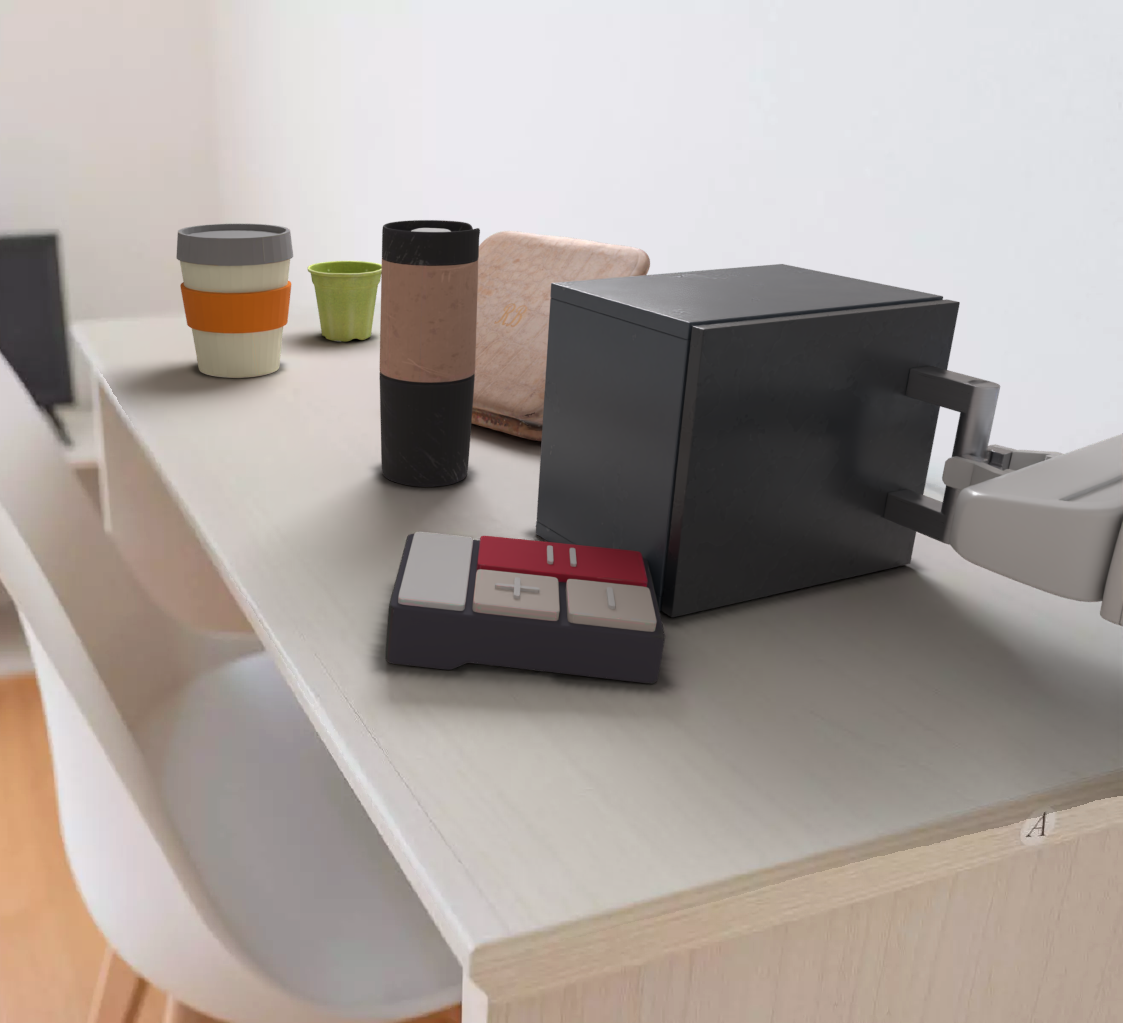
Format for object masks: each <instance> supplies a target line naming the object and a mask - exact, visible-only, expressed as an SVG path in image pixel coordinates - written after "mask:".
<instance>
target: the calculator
mask: <svg viewBox="0 0 1123 1023" xmlns="http://www.w3.org/2000/svg"><path fill="white" fill-rule="evenodd" d="M664 629H665V628H664V625H663V621H662V617H661V611H659V607H658V603H657V599H656V594H655V590H654V586H653V581H652V577H651V573H650V568H649V564H648V561H647V560H646V559H645V558H643V557H642V554H641V553H640V552H638V551H631V550H621V549H611V548H602V547H592V546H582V545H573V544H563V543H553V542H548V541H545V540H544V541H542V540H533V539H523V538H514V537H504V536H494V535H481V536H480V538H479V539H474V538H473V537H472V536H467V535H457V534H448V533H439V532H438V533H437V532H430V531H429V532H427V531H415V533H410V534H408V535H407V537H406V540H405V544H404V547H403V551H402V554H401V558H400V562H399V566H398V569H397V573H396V577H395V581H394V584H393V588H392V593H391V596H390V599H389V603H388V612H387V626H386V639H385V640H386V641H385V652H384V657H385V658H384V659H385V661H386V662H388V663H390V664H394V665H402V666H410V667H421V668H428V669H429V668H430V669H435V670H437V669H438V670H447V671H451V670H454V669H456V668H458V667H459V668H460V667H461V666H464V665H466V664H478V665H485V666H493V667H503V668H512V669H520V670H528V671H537V672H547V673H554V674H562V675H563V674H564V675H571V676H580V677H589V678H597V679H606V680H615V681H624V682H632V683H641V684H650V685H651V684H655V683H657V682H658V679H659V675H660V668H661V662H662V657H663V652H664V646H665V645H664V644H665V641H666V640H665V639H666V633H665V630H664Z"/></svg>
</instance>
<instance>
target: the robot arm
mask: <svg viewBox="0 0 1123 1023" xmlns="http://www.w3.org/2000/svg"><path fill="white" fill-rule="evenodd" d="M941 479H942V480H941V481H942V483H943V484H944V485H945V486H946V485H947V486H949V487H952V488H955V489H959V490H962V491H961V492H960V493H959V496H958V499H957V503H956V507H955V511H954V516H953V521H952V526H951V532H950V540H949V541H950V546H951V548H952V549H953V550H954V551H955V552H956V553H957V554H958V555H959V556H960V557H961V558H962V559H964V560H965V561H967V562H969V563H971V564H973V565H975V566H978V567H980V568H981V569H984V570H987V571H990V572H993V573H995V574H997V575H998V576H1002V577H1005V578H1008V579H1010V580H1012V581H1015V582H1017V583H1020V584H1023V585H1025V586H1028V587H1030V588H1034V589H1037V590H1039V591H1042V592H1044V593H1047V594H1050V595H1053V596H1057V597H1060V598H1064V599H1067V600H1072V601H1076V602H1084V603H1099V602H1101V605H1100V610H1099V616H1100V617H1101V618H1102V619H1103V620H1104V621H1107V622H1109V623H1112V624H1115V625H1118V626H1121V627H1123V433H1120V434H1117V435H1114V436H1111V437H1108V438H1105V439H1103V440H1100V441H1097V442H1094V443H1092V444H1088V445H1085V446H1083V447H1079V448H1077V449H1074V450H1070V451H1069V452H1068V451H1067V452H1065V453H1062V452H1059V451H1049V450H1034V449H1033V450H1032V449H1015V448H1012V447H1008V446H1003V445H1000V444H997V443H995V444H994V443H993V444H988V448H987V453H986V458H985V459H984V458H980V457H975V456H971V455H969V454H962V455H958V456H954V457H952V456H951V457H949V458H947V459H946V460H945V461H944V467H943V471H942V476H941Z"/></svg>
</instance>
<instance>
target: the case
mask: <svg viewBox="0 0 1123 1023" xmlns="http://www.w3.org/2000/svg"><path fill="white" fill-rule="evenodd" d="M478 260H479V261H478V294H477V326H476V359H475V373H474V374H475V380H474V394H473V408H472V422H471V425H476V426H480V427H483V428H486V429H490V430H493V431H497V432H502V433H504V434H508V435H511V436H515V437H518V438H522V439H526V440H530V441H536V442H541V441H542V425H543V409H544V393H545V377H546V361H547V345H548V329H549V313H550V299H551V297H550V294H551V283H556V282H569V281H581V280H593V279H605V278H617V277H629V276H642V275H648V273H649V271H650V267H651V259H650V257H649V255H648V254H647V251H645V250H643V249H641V248H638V247H633V246H628V245H622V244H621V245H620V244H613V243H607V242H600V241H596V240H590V239H583V238H575V237H568V236H561V235H560V236H559V235H549V234H538V233H532V232H524V231H518V230H517V231H515V230H503V231H497V232H495V233H493V234H491V235H489V236H488V237H487V238H485V239H484V240H483V241H482V242H481V243H479V258H478Z"/></svg>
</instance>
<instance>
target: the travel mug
mask: <svg viewBox="0 0 1123 1023" xmlns="http://www.w3.org/2000/svg"><path fill="white" fill-rule="evenodd" d="M381 234H382V235H381V265H382V271H381V279H380V282H381V283H380V321H379V322H380V323H379V324H380V326H379V332H380V333H379V410H380V411H379V412H380V413H379V416H380V418H379V419H380V454H381V456H380V458H381V472H382V475H383V477H385V478H386V479H387V480H389V481H391V482H393V483H397V484H401V485H405V486H411V487H424V488H427V487H428V488H431V487H433V488H434V487H442V486H443V487H444V486H449V485H450V486H451V485H453V484H458V483H459V482H461V481H462V480H464V479H465V478H466V477H467V476H468V470H469V463H470V462H469V460H470V449H471V448H470V447H471V434H472V423H471V422H472V408H473V394H474V380H475V374H474V373H475V359H476V326H477V294H478V261H479V260H478V258H479V245H480V234H481V229H480V227H475V228H473V226H472V224H471V223H468V222H464V221H457V220H444V219H443V220H442V219H441V220H440V219H419V220H418V219H414V220H399V221H392V222H391V221H390V222H387V223H385V224H383V225H382V230H381Z"/></svg>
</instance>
